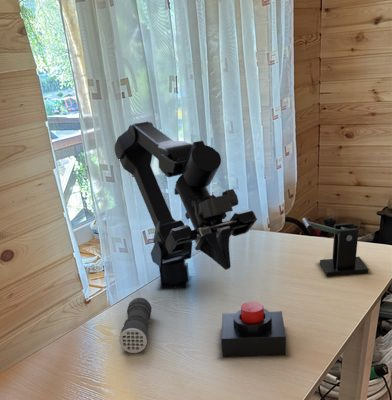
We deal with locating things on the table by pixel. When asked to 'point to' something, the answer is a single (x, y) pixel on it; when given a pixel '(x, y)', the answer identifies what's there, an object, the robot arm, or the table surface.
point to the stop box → (253, 336)
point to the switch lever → (320, 226)
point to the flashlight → (136, 326)
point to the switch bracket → (344, 254)
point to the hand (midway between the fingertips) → (228, 268)
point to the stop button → (252, 312)
